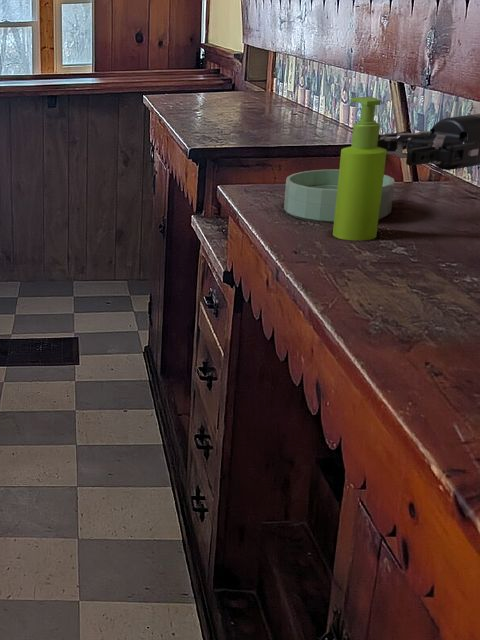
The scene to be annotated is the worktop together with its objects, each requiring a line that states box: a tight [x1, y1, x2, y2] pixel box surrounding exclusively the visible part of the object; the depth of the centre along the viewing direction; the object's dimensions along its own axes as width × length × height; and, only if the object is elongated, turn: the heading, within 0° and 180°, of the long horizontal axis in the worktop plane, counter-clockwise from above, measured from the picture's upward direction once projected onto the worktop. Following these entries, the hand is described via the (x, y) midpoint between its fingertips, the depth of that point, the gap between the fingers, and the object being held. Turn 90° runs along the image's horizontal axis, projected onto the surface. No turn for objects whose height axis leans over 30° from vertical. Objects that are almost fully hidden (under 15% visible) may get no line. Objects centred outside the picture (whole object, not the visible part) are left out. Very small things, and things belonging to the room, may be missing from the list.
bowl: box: [283, 168, 396, 225], centre depth 140 cm, size 16×16×6 cm
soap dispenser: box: [332, 96, 387, 242], centre depth 122 cm, size 6×7×20 cm
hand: (385, 153), depth 123 cm, fingers open, 8 cm apart
